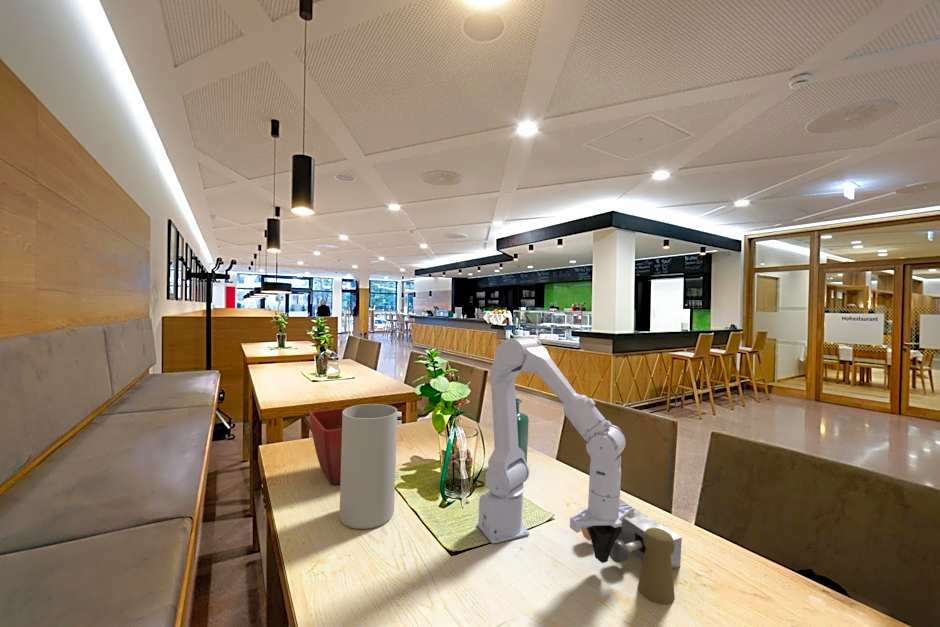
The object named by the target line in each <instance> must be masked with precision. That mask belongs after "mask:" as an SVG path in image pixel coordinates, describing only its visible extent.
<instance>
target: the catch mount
mask: <svg viewBox="0 0 940 627" xmlns="http://www.w3.org/2000/svg"><path fill="white" fill-rule="evenodd" d="M620 504H628V503H627V502H625V501H624V500H622V499H620ZM633 508H634V518H629V517H625V518H624V519H622V520H621V522H622V526H621V527H622V532H621V534H620V535H619V536H618V537H617V539H616V540H621V541H623V542H624V543H625V544H628V543H631V542H634V541H638V540H639V541H641V543H642V548H640V549H637V550H634V551H630V552H631V553H632V554H634V555H635V556H636V557H638V558H639V559H640V560H642V561H643V558H644V554H645V549H646V547H645V546H644V543H643V534H644V532H645V531H646V530H647V529H649V528H659V529H662V530H664V531H666V532H668V533H669V534H670V535H671V536H672V538H673V540H674V544H675V549H674V551H673V554H671V563H672V571H673V570H675V569H678V568H681V557H682V543H683V542H682V540H683V539H682V538H683V537H682V536H680V535H678V533H675V532H674V531H672V530H671V529H670V528H667V527H666V526H664V525H662V524H661V523H660V522H657V521H656V520H654V519H653V518H651V517H649V516H648V515H647V514H646V513H643V512H642V511H640V510H638V509H637V508H635V507H633Z"/></svg>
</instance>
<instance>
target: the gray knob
mask: <svg viewBox="0 0 940 627" xmlns="http://www.w3.org/2000/svg"><path fill="white" fill-rule="evenodd" d="M640 548H642V543H641V541H639V540H638V541H634V542H631V543H628V544H625V543H624V542H623V541H621V540H616V541H615V542H614V544H613V547H612V549H611V552H610V555H609V557H610V558H611V560H612V561H613V562H615V563H617V564H618V563H621V562H624V561H627V560H628V559H629V555H630V552H631V551H634V550H637V549H640Z"/></svg>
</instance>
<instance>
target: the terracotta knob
mask: <svg viewBox="0 0 940 627" xmlns="http://www.w3.org/2000/svg"><path fill="white" fill-rule="evenodd" d="M581 534H582V535H583V537H584V538H585V539H586V540H588V541H589V540H591V537H590V535H589V532H588V530H587V528H584V529H581Z"/></svg>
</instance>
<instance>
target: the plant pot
mask: <svg viewBox="0 0 940 627" xmlns="http://www.w3.org/2000/svg"><path fill="white" fill-rule="evenodd" d="M346 408H347V407H342V408H335V409H334V408H333V409H324V410H315V411H310V412H309V422H310V429H311V435H312V440H313V446H314V449H315V453H316V458H317V461H318V463H319V464H318V465H319V466H320V470H321V471H322V473H323V474H324V476H325V477H326V479H327V481H328V482H329V484H330V485H332V486H337V485H340V482H341V448H342V414H343V410H345V409H346Z"/></svg>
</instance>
